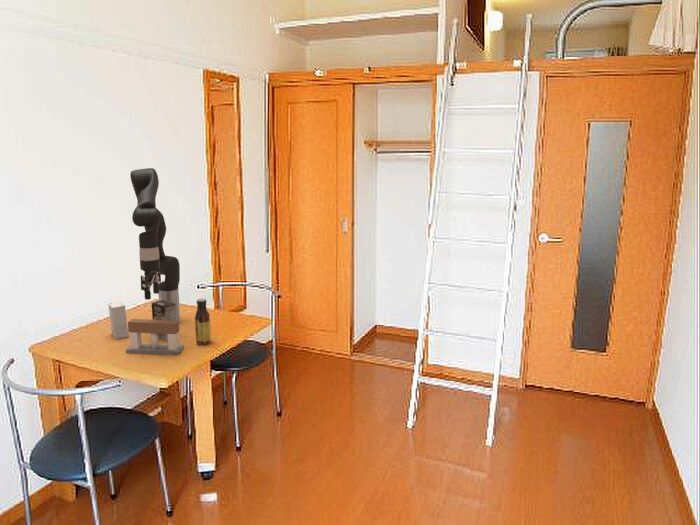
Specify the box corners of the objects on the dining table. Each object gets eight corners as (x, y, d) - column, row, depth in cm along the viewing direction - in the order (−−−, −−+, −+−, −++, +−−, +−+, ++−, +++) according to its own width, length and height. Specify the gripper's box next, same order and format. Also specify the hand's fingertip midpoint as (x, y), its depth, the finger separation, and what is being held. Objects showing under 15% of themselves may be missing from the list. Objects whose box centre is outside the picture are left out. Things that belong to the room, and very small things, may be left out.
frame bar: (133, 328, 226) (132, 318, 225) (179, 330, 225) (178, 320, 224) (128, 332, 222) (127, 321, 221) (175, 334, 221) (174, 323, 220)
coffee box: (152, 337, 241) (150, 302, 237) (164, 333, 246) (162, 299, 243) (165, 341, 236) (163, 306, 233) (177, 337, 241) (175, 303, 238)
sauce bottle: (197, 340, 238) (195, 297, 234) (211, 340, 239) (210, 297, 235) (194, 345, 232) (192, 301, 228) (209, 345, 232) (207, 301, 228)
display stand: (133, 346, 229) (132, 327, 227) (183, 348, 228) (183, 329, 226) (125, 352, 222) (124, 333, 221) (178, 354, 221) (177, 335, 220)
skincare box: (128, 337, 240) (126, 305, 237) (114, 339, 237) (111, 307, 234) (124, 331, 247) (122, 300, 244) (110, 334, 244) (108, 302, 241)
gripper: (147, 254, 224) (150, 291, 227) (132, 261, 210) (135, 301, 213) (165, 254, 223) (167, 291, 227) (151, 261, 210) (154, 301, 213)
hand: (152, 296), depth 220 cm, fingers open, 8 cm apart
